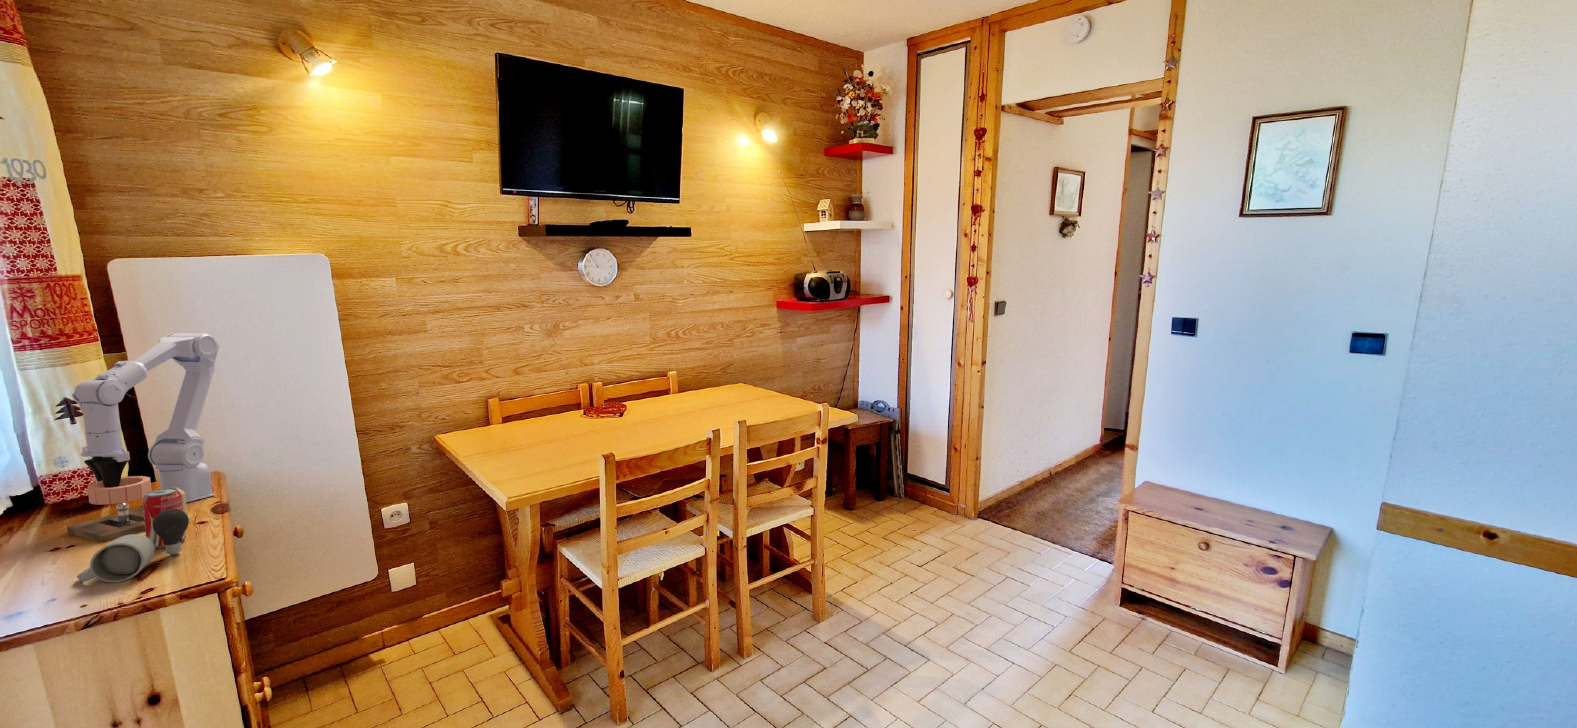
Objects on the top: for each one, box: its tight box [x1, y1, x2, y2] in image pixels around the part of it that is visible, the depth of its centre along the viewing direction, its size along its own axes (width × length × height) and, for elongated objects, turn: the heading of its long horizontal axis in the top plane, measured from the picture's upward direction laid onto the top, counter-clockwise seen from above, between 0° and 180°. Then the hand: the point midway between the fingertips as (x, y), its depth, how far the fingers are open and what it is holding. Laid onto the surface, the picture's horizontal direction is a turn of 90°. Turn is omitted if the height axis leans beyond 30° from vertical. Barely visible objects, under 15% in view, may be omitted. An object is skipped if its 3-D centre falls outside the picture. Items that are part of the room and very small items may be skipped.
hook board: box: [66, 507, 146, 543], centre depth 154 cm, size 14×14×2 cm
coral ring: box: [87, 475, 152, 506], centre depth 153 cm, size 10×10×4 cm
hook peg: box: [110, 502, 138, 528], centre depth 153 cm, size 2×8×6 cm, turn 70°
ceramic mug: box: [76, 533, 156, 583], centre depth 129 cm, size 11×8×8 cm
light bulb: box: [152, 509, 190, 557], centre depth 139 cm, size 6×6×10 cm
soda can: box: [141, 488, 187, 549], centre depth 144 cm, size 6×6×12 cm
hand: (109, 487), depth 154 cm, fingers closed on coral ring
